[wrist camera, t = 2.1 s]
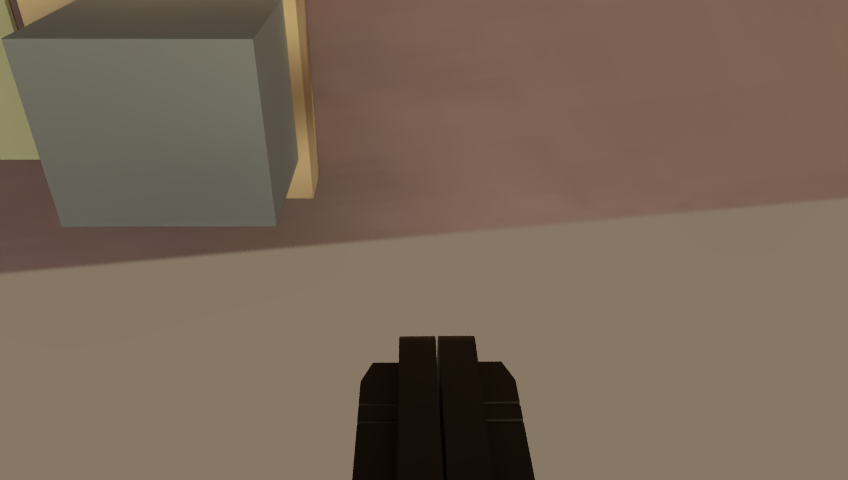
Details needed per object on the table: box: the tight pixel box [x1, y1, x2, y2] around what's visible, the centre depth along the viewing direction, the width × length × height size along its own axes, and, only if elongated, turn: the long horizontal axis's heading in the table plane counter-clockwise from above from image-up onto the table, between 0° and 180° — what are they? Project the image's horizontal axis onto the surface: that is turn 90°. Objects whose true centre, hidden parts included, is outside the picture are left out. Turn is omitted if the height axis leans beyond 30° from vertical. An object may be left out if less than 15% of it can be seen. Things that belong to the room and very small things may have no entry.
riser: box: [17, 0, 319, 198], centre depth 29 cm, size 11×11×2 cm
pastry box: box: [1, 0, 299, 227], centre depth 26 cm, size 7×8×6 cm
